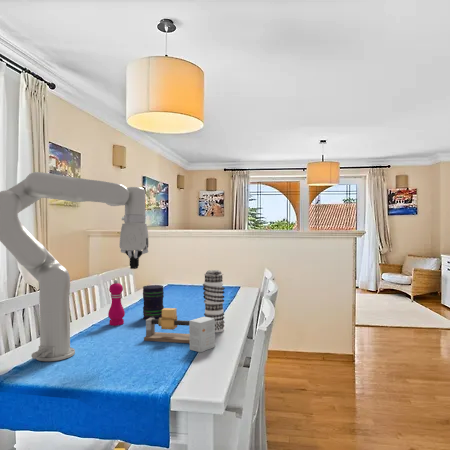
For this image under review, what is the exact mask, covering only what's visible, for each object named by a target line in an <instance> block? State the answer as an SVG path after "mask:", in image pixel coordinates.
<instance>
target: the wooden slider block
mask: <svg viewBox="0 0 450 450" xmlns="http://www.w3.org/2000/svg"><path fill="white" fill-rule="evenodd" d="M177 312H178V311H177V307H176V308H175V307H174V308H172V307H164V309H162V318H161V326H160V328H161V329H160V330H170V331H171V330H172V331H174V330H175V329H176V328H178V325H174V320H178V313H177Z"/></svg>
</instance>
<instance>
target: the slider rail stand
mask: <svg viewBox="0 0 450 450" xmlns="http://www.w3.org/2000/svg"><path fill="white" fill-rule="evenodd" d="M189 321H190V320H181V319H177V320H174V325H177V326H188V327H189ZM155 325H158V326H159V327H161V318H159V319H155V318H148V319H147V320H145V336H144V337H143V341H144V342H160V343H161V342H162V343H163V342H164V343H177V344H178V343H180V344H190V333H177V332H160V331H158V332H157V331H156V330H155V329H156V328H155Z"/></svg>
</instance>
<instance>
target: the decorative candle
mask: <svg viewBox="0 0 450 450" xmlns="http://www.w3.org/2000/svg"><path fill="white" fill-rule="evenodd" d="M223 275H224V273H222V271H221V270H219V269H211V270H207V271H206V272H205V273H204V283H203V284H202V286H203V287H202V289H203V292H202V293H203V296H202V297H203V299H204V300H203V303H204V313H203V317H209V318H214V319H215V333H220V332H223V331H225V320H224V319H225V316H224V315H225V313H224V303H225V299H224V298H225V296H224V295H223V294H226V293H225V291H224V290H225V287H224V280H223Z"/></svg>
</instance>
